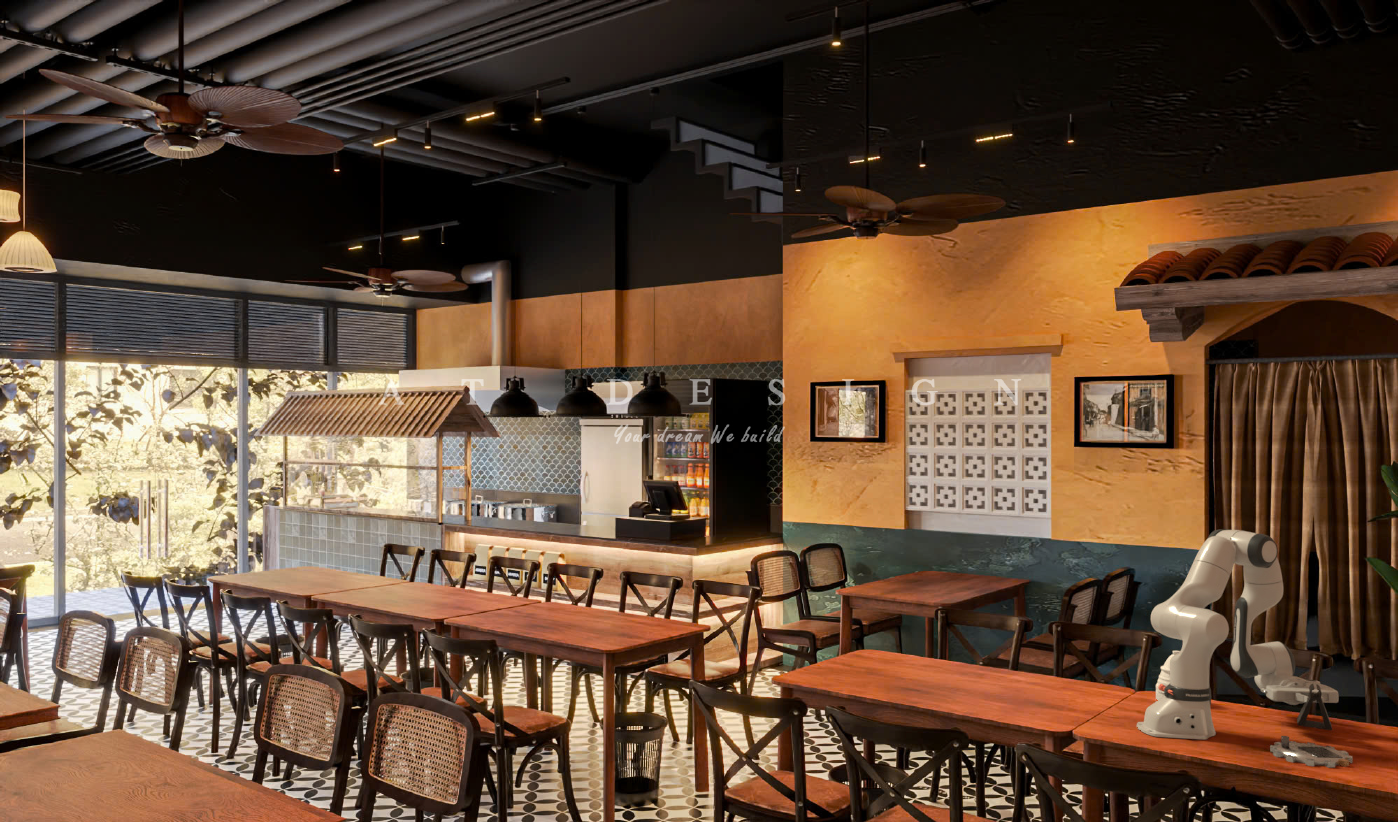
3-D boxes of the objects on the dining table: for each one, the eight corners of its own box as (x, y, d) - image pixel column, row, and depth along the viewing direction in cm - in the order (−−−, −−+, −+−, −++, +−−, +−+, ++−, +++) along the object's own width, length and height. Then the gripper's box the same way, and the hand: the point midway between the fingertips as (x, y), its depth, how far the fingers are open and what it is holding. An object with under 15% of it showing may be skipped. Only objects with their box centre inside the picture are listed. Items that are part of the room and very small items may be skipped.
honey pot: (1200, 707, 348) (1200, 654, 348) (1160, 705, 350) (1160, 652, 351) (1190, 698, 360) (1189, 647, 361) (1151, 696, 363) (1151, 645, 363)
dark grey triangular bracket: (1297, 725, 310) (1298, 686, 310) (1296, 719, 315) (1298, 681, 315) (1332, 730, 306) (1333, 691, 305) (1330, 724, 311) (1332, 685, 311)
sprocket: (1294, 767, 282) (1294, 750, 282) (1256, 745, 302) (1256, 730, 302) (1368, 768, 281) (1368, 751, 282) (1325, 746, 302) (1325, 731, 302)
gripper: (1257, 678, 326) (1281, 689, 312) (1322, 680, 325) (1349, 690, 311) (1257, 698, 325) (1281, 709, 312) (1322, 700, 325) (1349, 711, 311)
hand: (1315, 700), depth 311 cm, fingers closed on dark grey triangular bracket, 2 cm apart
